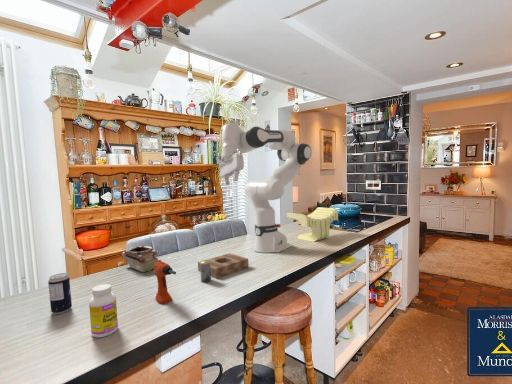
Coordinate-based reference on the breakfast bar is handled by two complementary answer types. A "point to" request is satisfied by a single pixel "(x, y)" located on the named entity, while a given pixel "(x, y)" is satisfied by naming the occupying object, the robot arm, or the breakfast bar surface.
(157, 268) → the toy drill
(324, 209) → the slatted curved stool
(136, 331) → the breakfast bar surface
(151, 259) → the decorative box
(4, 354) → the breakfast bar surface
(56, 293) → the beverage can
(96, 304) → the supplement bottle
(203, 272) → the key peg
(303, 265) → the breakfast bar surface
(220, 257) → the chuck block
